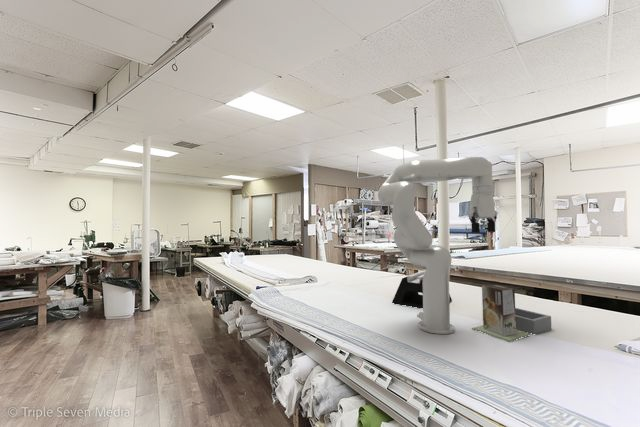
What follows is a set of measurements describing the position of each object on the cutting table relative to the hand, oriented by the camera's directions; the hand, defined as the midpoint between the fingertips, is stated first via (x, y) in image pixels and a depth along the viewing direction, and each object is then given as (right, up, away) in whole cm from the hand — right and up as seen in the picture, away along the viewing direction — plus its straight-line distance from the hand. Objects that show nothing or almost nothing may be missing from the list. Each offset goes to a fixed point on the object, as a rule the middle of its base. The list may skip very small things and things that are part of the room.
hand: (483, 232), depth 126 cm
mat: (-2, -36, -15) cm, 39 cm away
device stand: (-16, -38, +28) cm, 49 cm away
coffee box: (-3, -35, -15) cm, 39 cm away
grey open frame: (+10, -36, -9) cm, 38 cm away
